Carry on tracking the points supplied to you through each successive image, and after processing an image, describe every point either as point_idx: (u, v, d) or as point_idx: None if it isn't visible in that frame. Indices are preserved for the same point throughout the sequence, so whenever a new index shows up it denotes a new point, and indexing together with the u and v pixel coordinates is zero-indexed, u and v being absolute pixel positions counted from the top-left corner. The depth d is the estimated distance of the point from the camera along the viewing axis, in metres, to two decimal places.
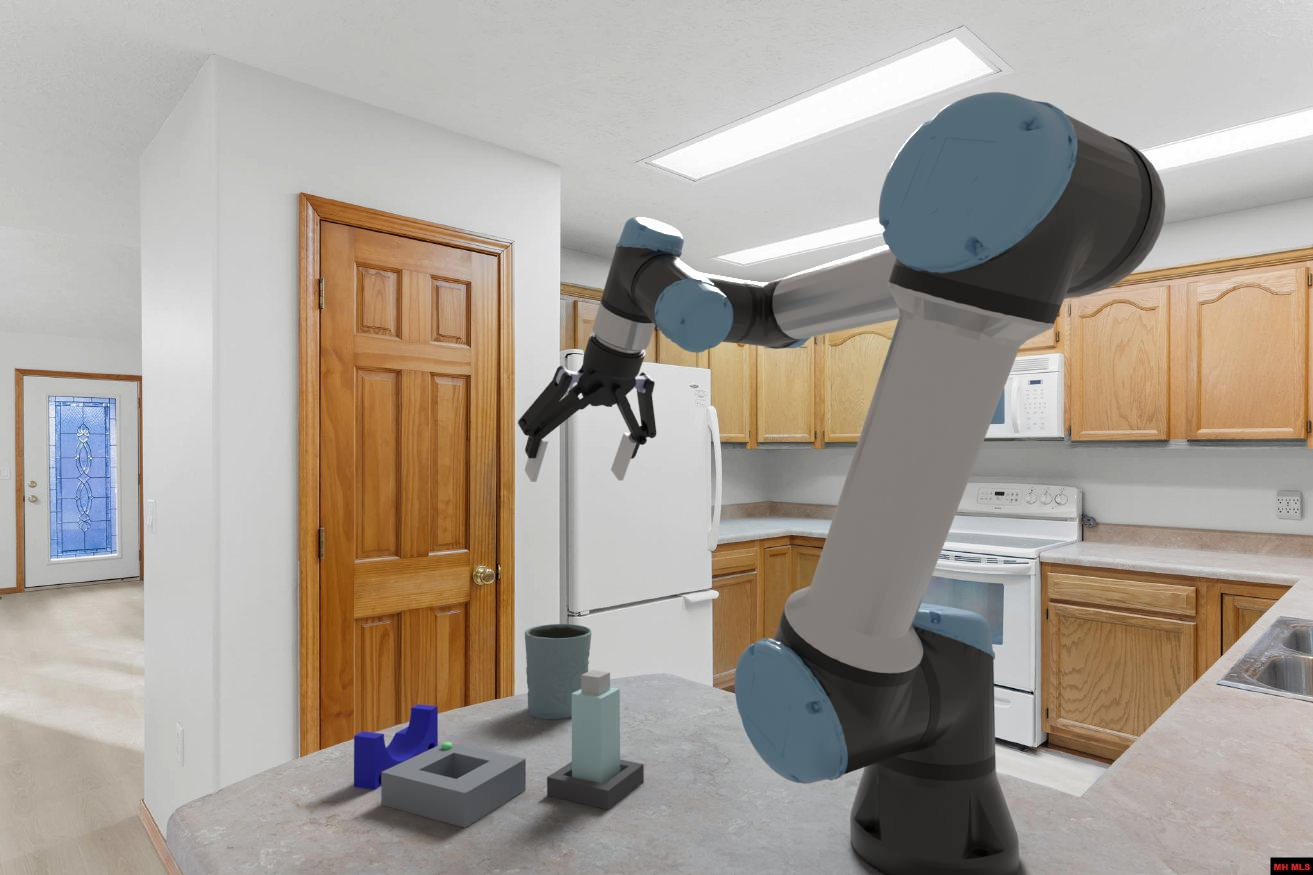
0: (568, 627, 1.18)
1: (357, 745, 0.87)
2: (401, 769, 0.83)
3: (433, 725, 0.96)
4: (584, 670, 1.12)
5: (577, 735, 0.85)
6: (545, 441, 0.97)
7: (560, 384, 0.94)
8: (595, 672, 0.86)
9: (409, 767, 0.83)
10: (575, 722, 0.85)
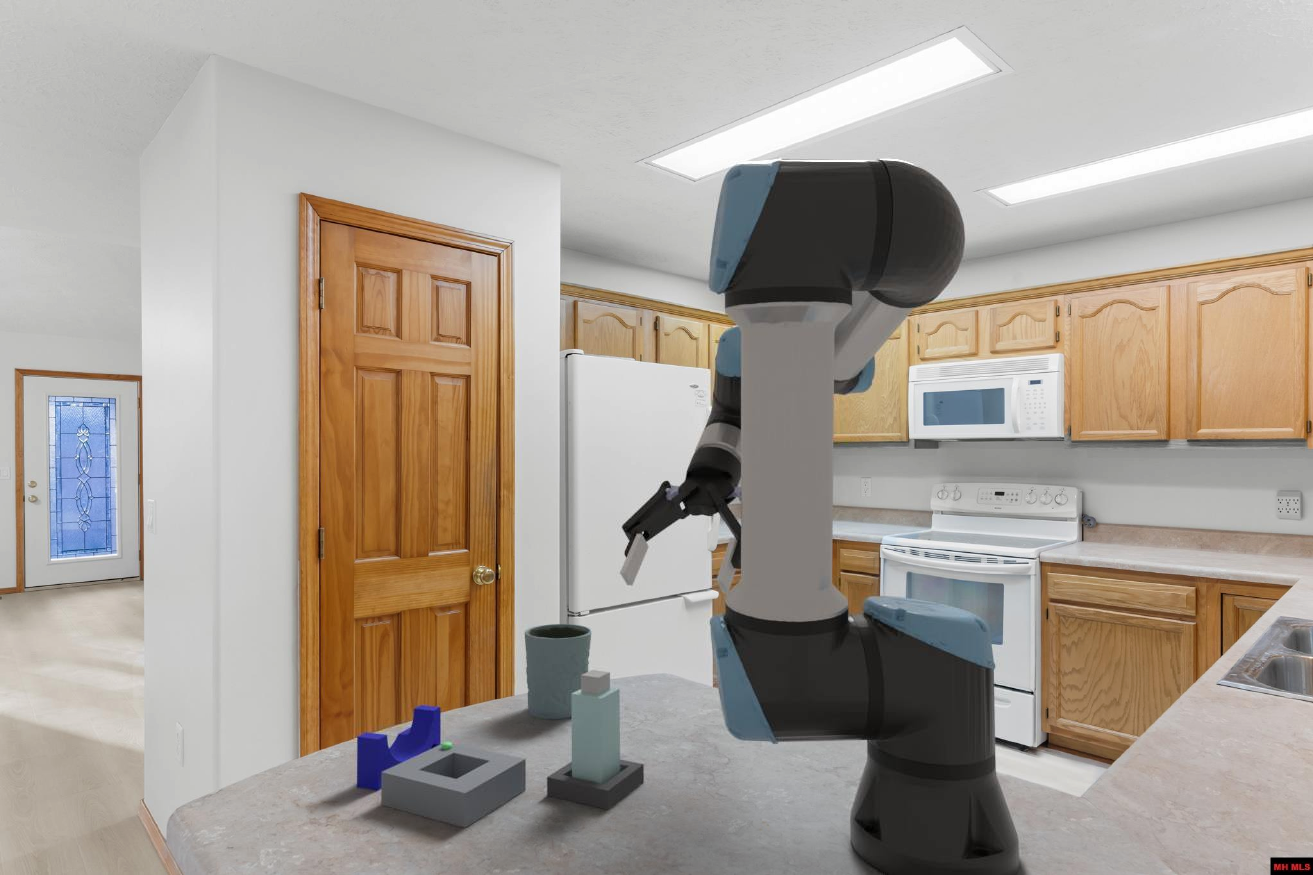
0: (568, 627, 1.18)
1: (360, 746, 0.86)
2: (401, 769, 0.83)
3: (436, 726, 0.96)
4: (584, 670, 1.12)
5: (577, 735, 0.85)
6: (639, 533, 1.01)
7: (659, 489, 1.06)
8: (595, 672, 0.86)
9: (409, 767, 0.83)
10: (575, 722, 0.85)
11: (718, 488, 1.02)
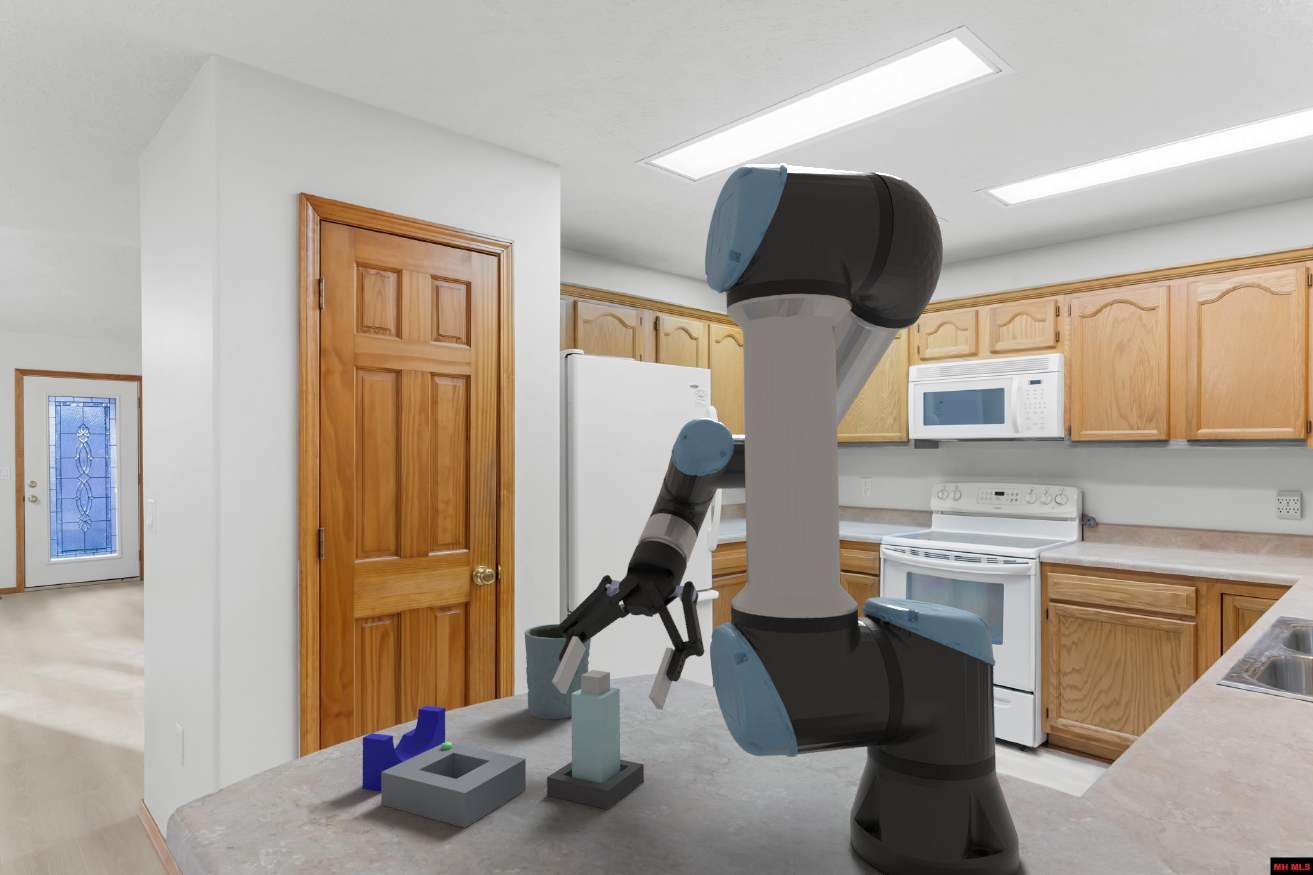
0: None
1: (366, 747, 0.86)
2: (401, 769, 0.83)
3: (441, 727, 0.96)
4: (584, 670, 1.12)
5: (577, 735, 0.85)
6: (574, 636, 0.96)
7: None
8: (595, 672, 0.86)
9: (409, 767, 0.83)
10: (575, 722, 0.85)
11: (659, 587, 0.98)
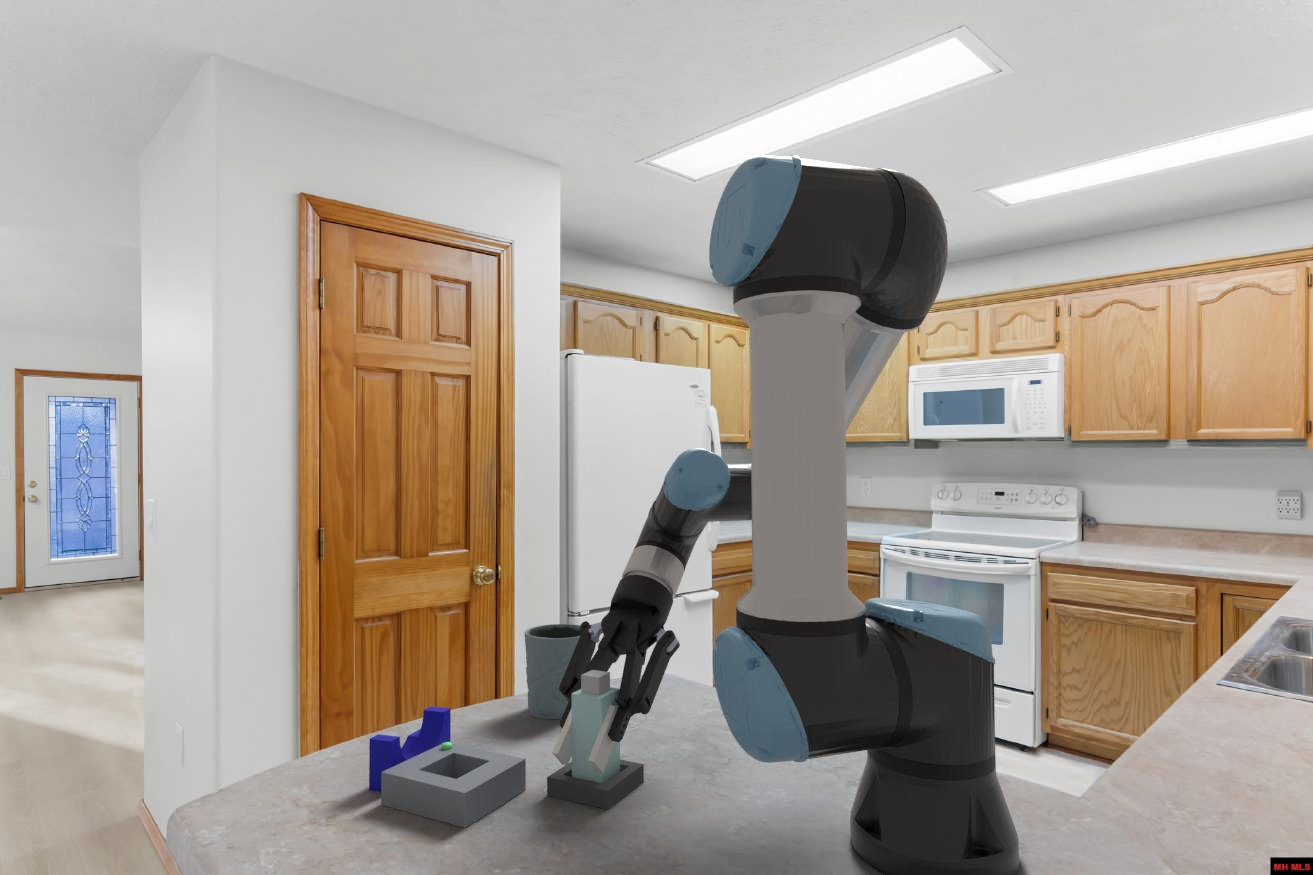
0: (568, 627, 1.18)
1: (373, 748, 0.86)
2: (401, 769, 0.83)
3: (446, 728, 0.96)
4: None
5: (577, 735, 0.85)
6: None
7: (580, 633, 0.94)
8: (595, 672, 0.86)
9: (409, 767, 0.83)
10: (575, 722, 0.85)
11: (644, 622, 0.92)
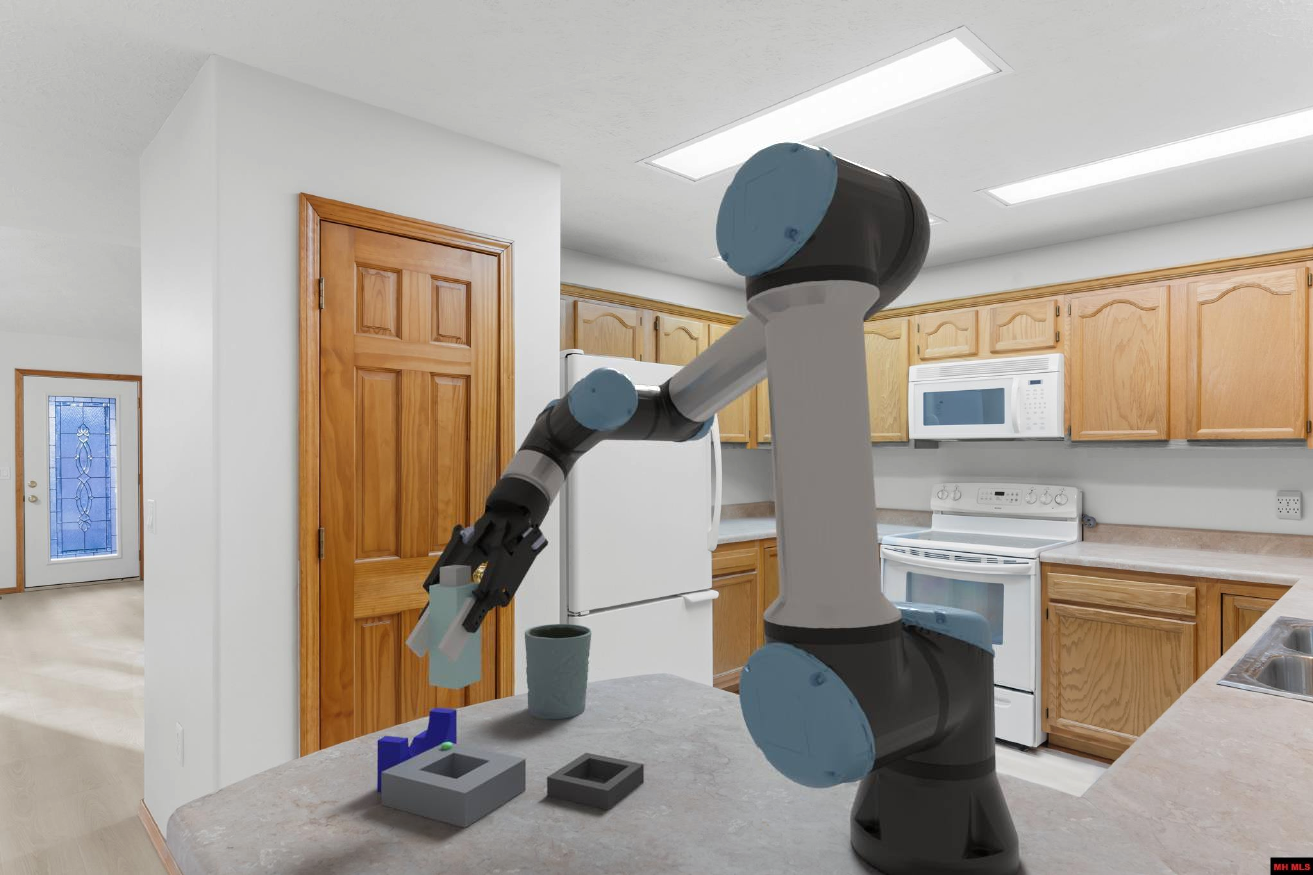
0: (568, 627, 1.18)
1: (381, 750, 0.85)
2: (401, 769, 0.83)
3: (452, 729, 0.95)
4: (584, 670, 1.12)
5: (434, 627, 0.83)
6: None
7: None
8: (456, 566, 0.85)
9: (409, 767, 0.83)
10: (432, 614, 0.83)
11: (514, 521, 0.91)
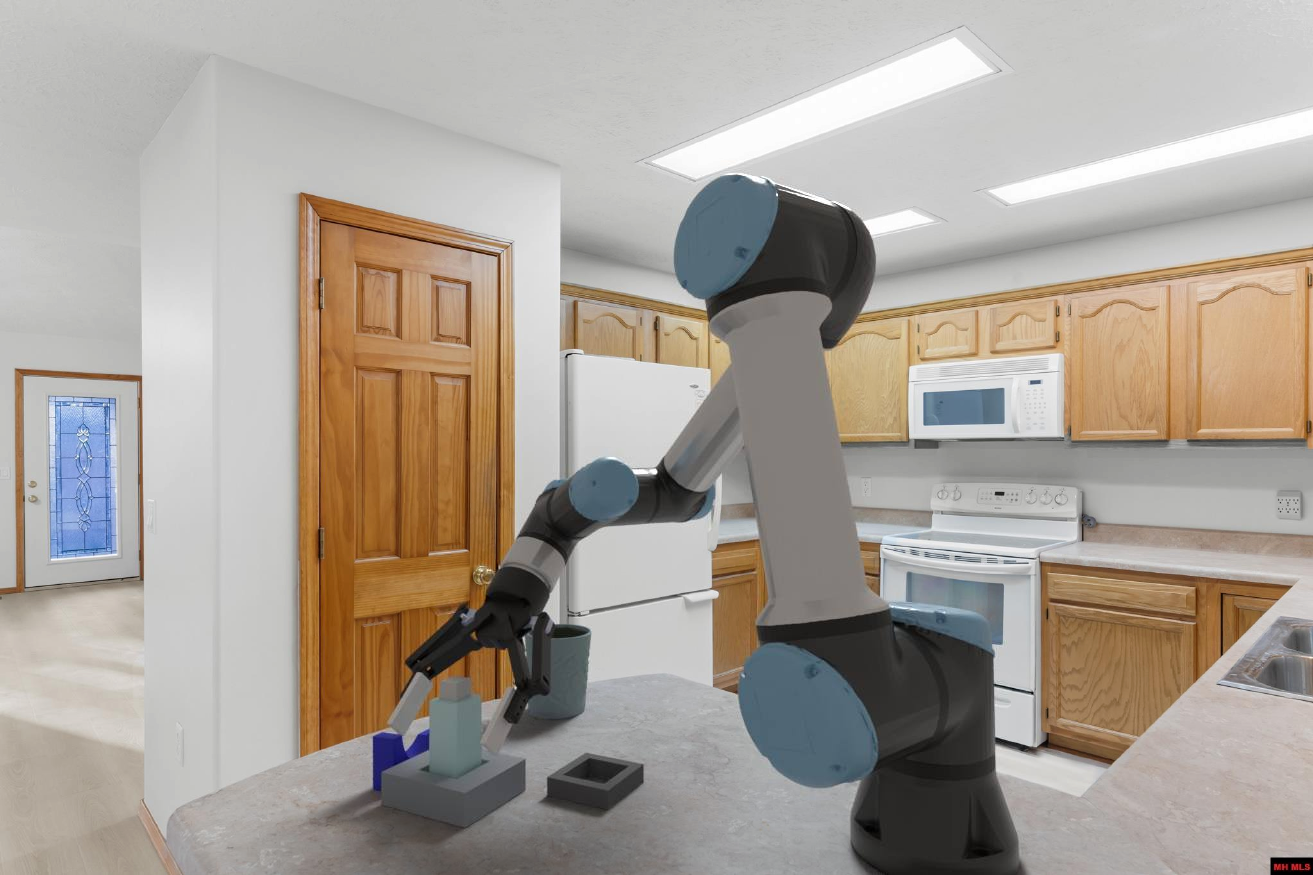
0: (568, 627, 1.18)
1: (376, 746, 0.86)
2: (401, 769, 0.83)
3: None
4: (584, 670, 1.12)
5: (434, 743, 0.83)
6: (419, 672, 0.88)
7: None
8: (456, 678, 0.85)
9: (409, 767, 0.83)
10: (432, 729, 0.83)
11: (513, 617, 0.90)
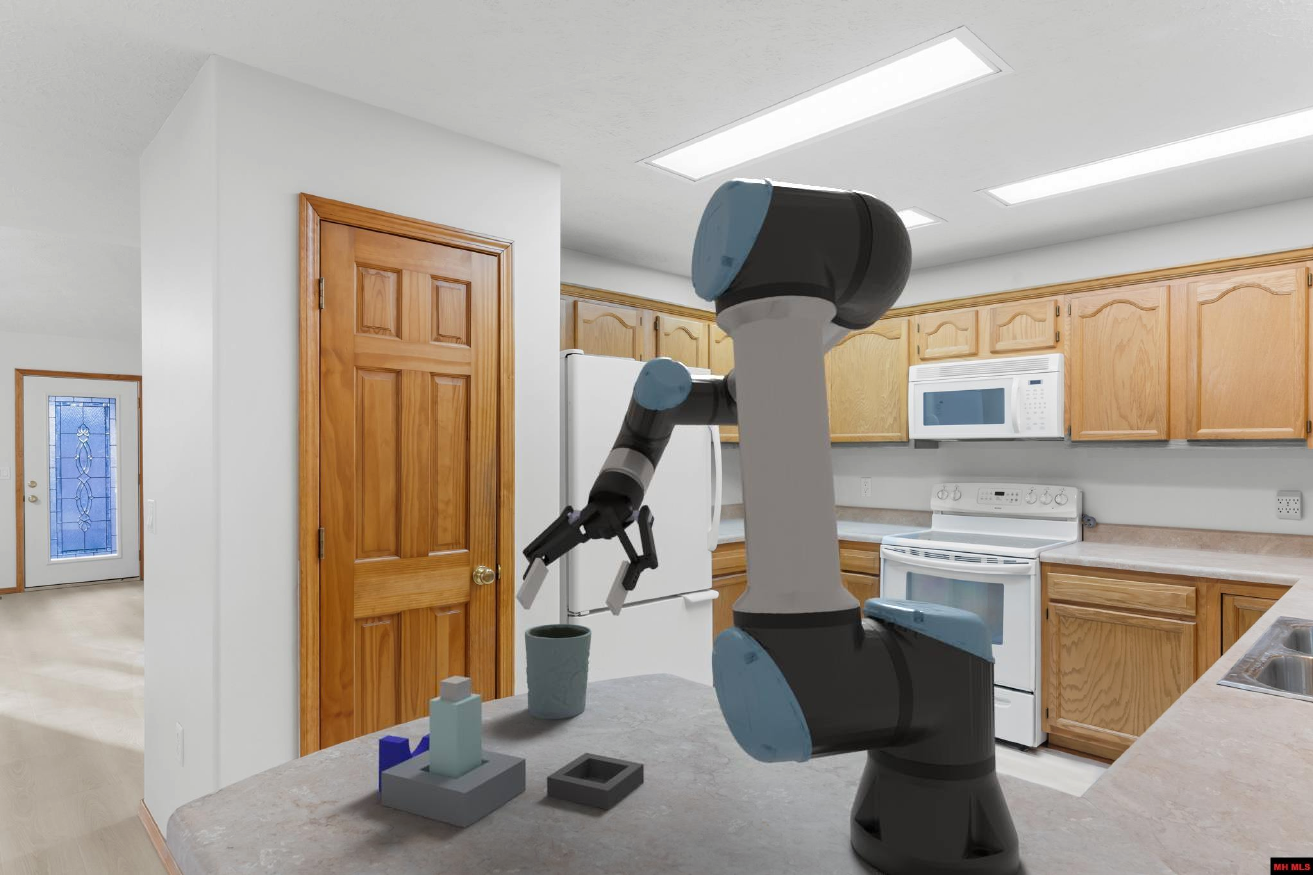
0: (568, 627, 1.18)
1: (382, 749, 0.85)
2: (401, 769, 0.83)
3: None
4: (584, 670, 1.12)
5: (434, 743, 0.83)
6: (537, 558, 1.02)
7: None
8: (456, 678, 0.85)
9: (409, 767, 0.83)
10: (432, 729, 0.83)
11: (617, 512, 1.04)
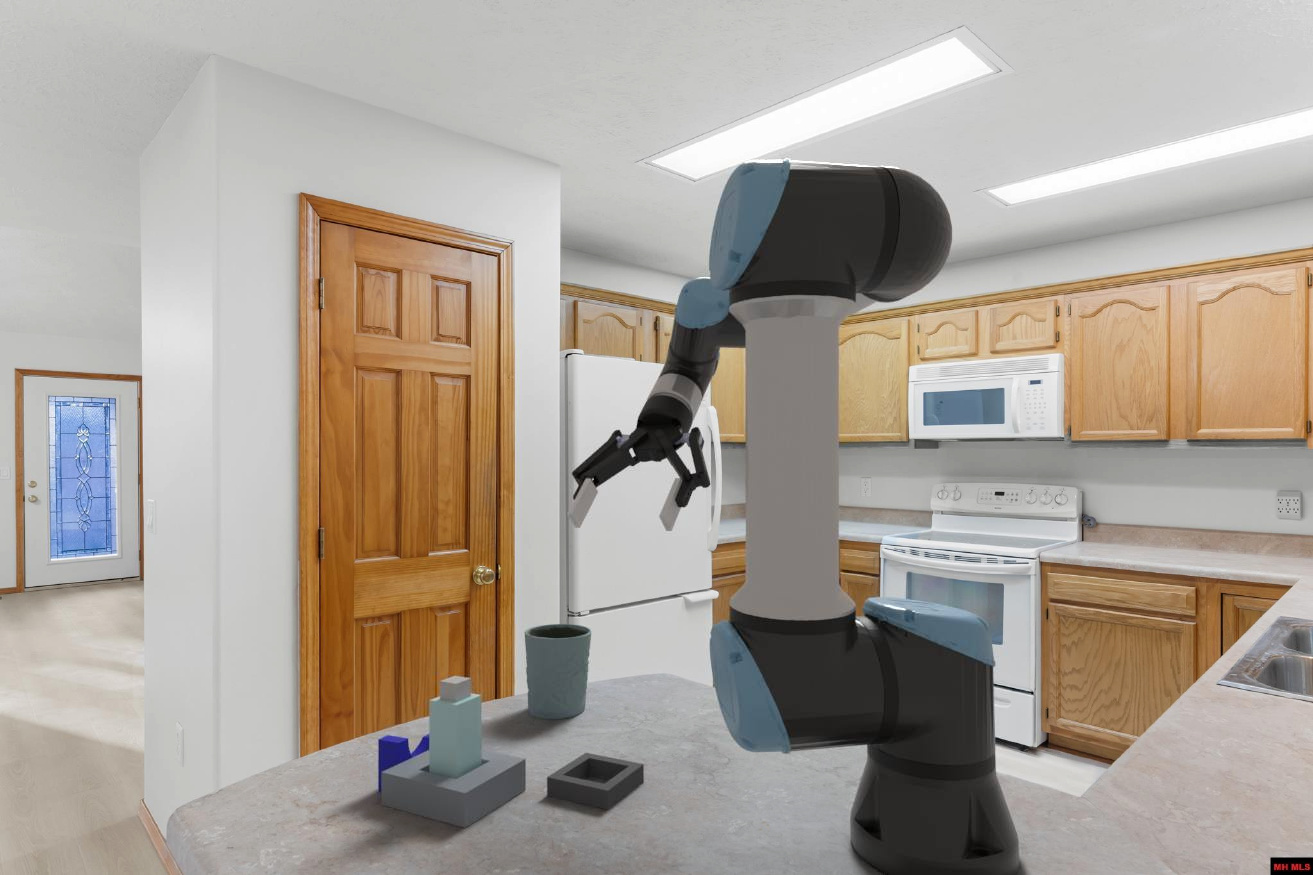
0: (568, 627, 1.18)
1: (381, 749, 0.85)
2: (401, 769, 0.83)
3: None
4: (584, 670, 1.12)
5: (434, 743, 0.83)
6: (587, 478, 1.02)
7: None
8: (456, 678, 0.85)
9: (409, 767, 0.83)
10: (432, 729, 0.83)
11: (667, 434, 1.04)
